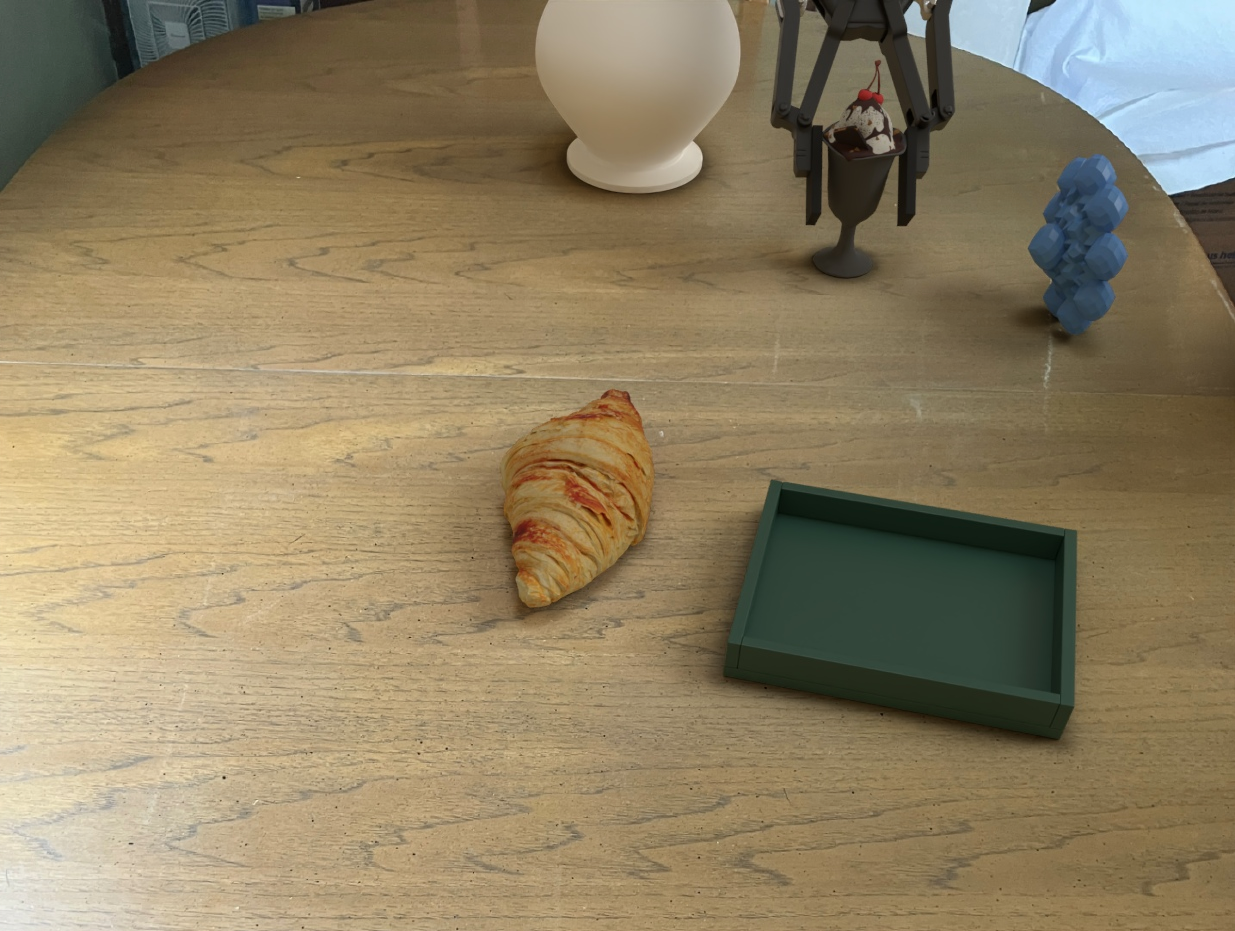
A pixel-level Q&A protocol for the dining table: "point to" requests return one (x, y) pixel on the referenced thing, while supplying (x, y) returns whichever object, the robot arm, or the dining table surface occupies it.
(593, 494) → the croissant
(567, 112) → the decorative vase
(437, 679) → the dining table surface
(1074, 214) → the grapes
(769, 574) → the tray
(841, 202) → the sundae
